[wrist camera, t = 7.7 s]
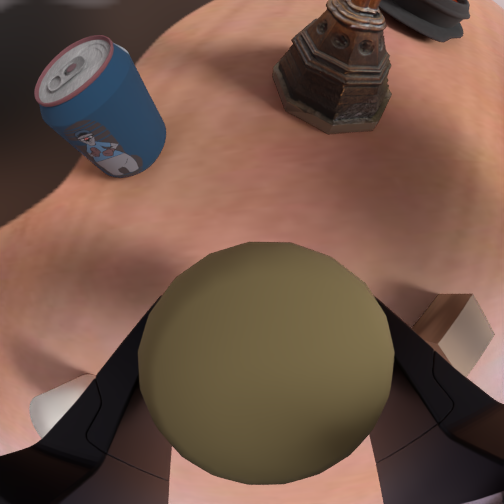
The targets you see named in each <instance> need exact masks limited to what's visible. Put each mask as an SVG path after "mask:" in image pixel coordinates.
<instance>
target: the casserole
mask: <svg viewBox="0 0 504 504" xmlns="http://www.w3.org/2000/svg"><path fill="white" fill-rule="evenodd" d="M378 7H379V8H381V9H382V10H383V11H384V12H386V13H387V14H389V15H390V16H392V17H393V18H395V19H396V20H398V21H400V22H401V23H403V24H404V25H406V26H408V27H410V28H411V29H413V30H415V31H417V32H419V33H421V34H423V35H425V36H427V37H429V38H431V39H434V40H436V41H439V42H445V41H447V40H449V39H451V38H461V37H462V36H463V29H462V26H461V24H460V21H462V20H463V19H469V18H470V14H469V2H468V1H467V0H381V2H380V4H379V6H378Z"/></svg>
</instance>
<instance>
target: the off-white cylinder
mask: <svg viewBox="0 0 504 504" xmlns="http://www.w3.org/2000/svg"><path fill="white" fill-rule="evenodd" d="M94 378H96V376H95V375H91V374H85V375H82V376H80V377H78V378H75V379H73V380H71V381H69V382H67V383H65V384H63V385H60V386H58V387H56V388H54V389H52V390H49V391H47V392H45V393H43V394H41V395H38V396H36V397H34V398H33V399H32V401H31V403H30V409H29V411H30V417H31V420H32V423H33V425H34V427H35V429H36V431H37V433H38V434H39V436H40V437H41V438H43V437H44V436H45V435H46V434H47V433H48V432H49V431H50V430H51V428H52V427H53V426H54V425H55V424H56V423H57V422H58V421H59V420H60V419H61V417H62V416H63V415H64V414H65V413H66V412H67V411H68V410H69V409H70V407H71V406H72V405H73V404H74V403H75V402H76V401H77V399H78V398H79V397H80V396H81V394H82V393H83V392H84V391H85V389H86V388H87V387H88V386H89V384H90V383H91V382H92V380H93V379H94Z"/></svg>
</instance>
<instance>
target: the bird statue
mask: <svg viewBox="0 0 504 504" xmlns="http://www.w3.org/2000/svg"><path fill="white" fill-rule="evenodd" d="M380 2H381V0H329V1H328V2H327V4H326V7H327V10H326V11H325V12H324V13H323V14H322V15H321V16H320V17H319V18H318V19H315V20H313V21H312V22H311V23H310V24H309V25H308V26H306V27H305V28H304V29H303V30H302V31H301V32H299V33H298V34H297V35H296V36H295V37H294V38H293V39H292V42H293V45H292V46H291V47H290V48H289V49H290V50H289V51H288V52H286V54H285V55H284V56H283V57H282V58H281V60H280V61H279V62H278V63H277V64H276V65H275V66H274V67H273V79H274V82H275V84H276V87H277V90H278V93H279V95H280V98H281V101H282V104H283V106H284V109H285V111H286V112H288V113H290V114H292V115H294V116H296V117H298V118H300V119H302V120H304V121H305V122H307V123H309V124H311V125H313V126H315V127H316V128H318V129H320V130H322V131H323V132H325V133H327V134H336V133H347V132H360V131H372V130H373V129H374V128H375V126H376V125H377V123H378V122H379V120H380V118H381V116H382V114H383V112H384V110H385V107H386V105H387V103H388V101H389V99H390V97H391V95H392V94H391V92H390V90H389V89H388V87H389V85H388V84H387V82H388V79H387V75H388V72H389V69H390V67H391V64H390V61H389V57H390V55H389V54H388V53H387V51H386V49H385V42H384V36H383V33H384V32H383V30H384V29H385V28H386V23H385V18H384V16H383V15H382V14H381V13H380V9H379V7H378V6H379V4H380Z"/></svg>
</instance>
